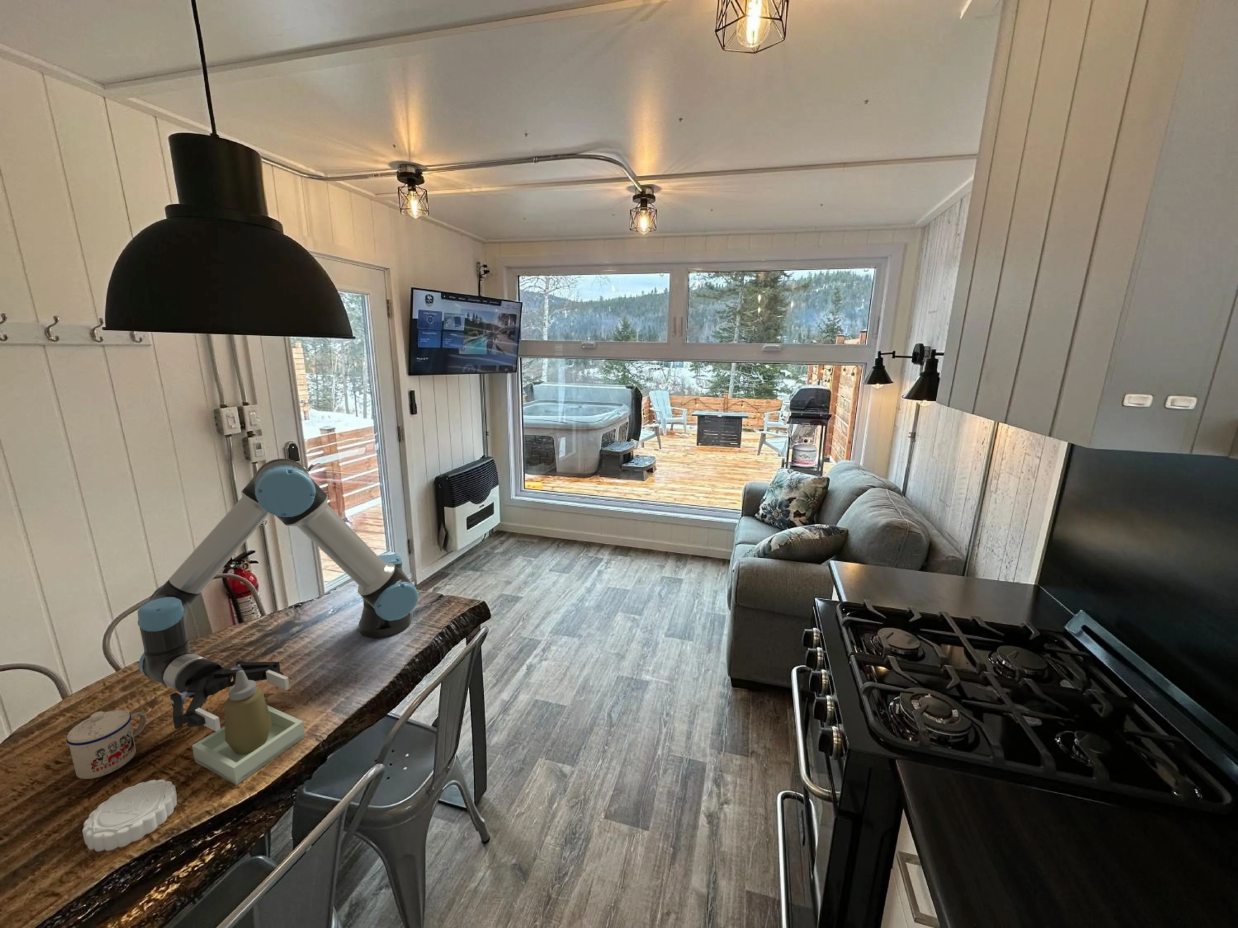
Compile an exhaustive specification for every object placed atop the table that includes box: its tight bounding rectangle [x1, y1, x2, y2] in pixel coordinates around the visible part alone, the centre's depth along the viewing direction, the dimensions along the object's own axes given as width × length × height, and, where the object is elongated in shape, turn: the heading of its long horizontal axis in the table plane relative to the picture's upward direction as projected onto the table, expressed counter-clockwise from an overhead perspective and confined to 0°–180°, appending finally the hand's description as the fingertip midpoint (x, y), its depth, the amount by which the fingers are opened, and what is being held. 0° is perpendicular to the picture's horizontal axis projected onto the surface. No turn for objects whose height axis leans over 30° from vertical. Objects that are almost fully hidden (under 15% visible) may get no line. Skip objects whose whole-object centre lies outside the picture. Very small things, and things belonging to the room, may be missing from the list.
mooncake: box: [82, 779, 178, 852], centre depth 88 cm, size 12×12×4 cm
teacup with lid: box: [66, 709, 148, 780], centre depth 100 cm, size 12×9×12 cm
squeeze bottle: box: [224, 670, 272, 755], centre depth 102 cm, size 8×8×18 cm
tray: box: [191, 704, 306, 786], centre depth 104 cm, size 14×14×4 cm
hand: (254, 702), depth 101 cm, fingers open, 13 cm apart
